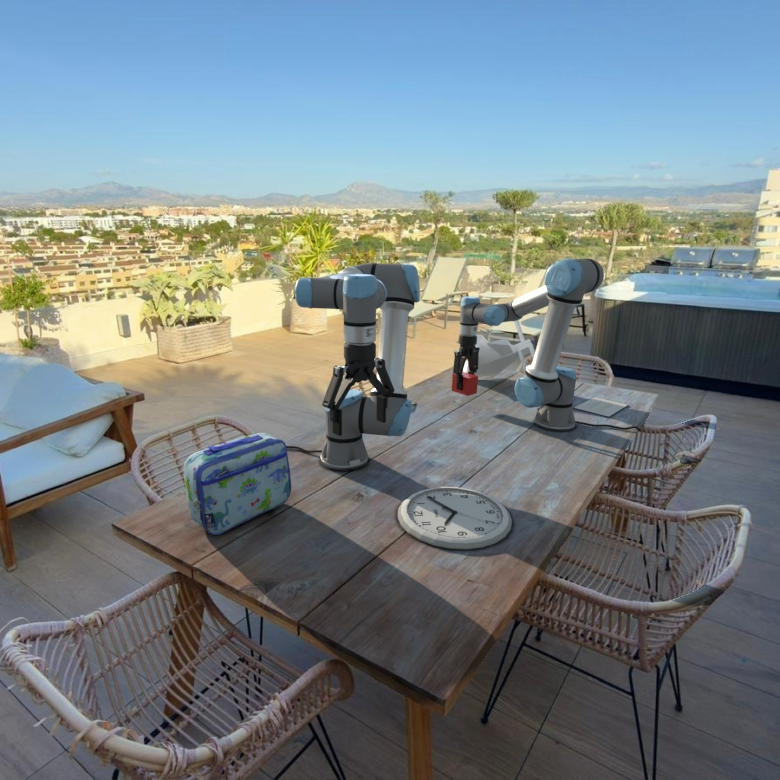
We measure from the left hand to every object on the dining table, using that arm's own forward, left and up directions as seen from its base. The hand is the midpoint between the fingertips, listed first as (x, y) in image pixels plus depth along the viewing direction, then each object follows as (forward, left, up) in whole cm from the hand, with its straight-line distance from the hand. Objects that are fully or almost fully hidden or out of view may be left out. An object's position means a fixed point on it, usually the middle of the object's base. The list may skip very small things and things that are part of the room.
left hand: (359, 427), depth 128 cm
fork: (-12, +91, -26) cm, 95 cm away
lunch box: (-30, -8, -26) cm, 40 cm away
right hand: (+10, +101, -18) cm, 103 cm away
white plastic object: (+21, +137, -26) cm, 141 cm away
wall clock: (+23, +10, -26) cm, 36 cm away
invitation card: (+67, +120, -26) cm, 139 cm away
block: (+10, +101, -20) cm, 103 cm away
